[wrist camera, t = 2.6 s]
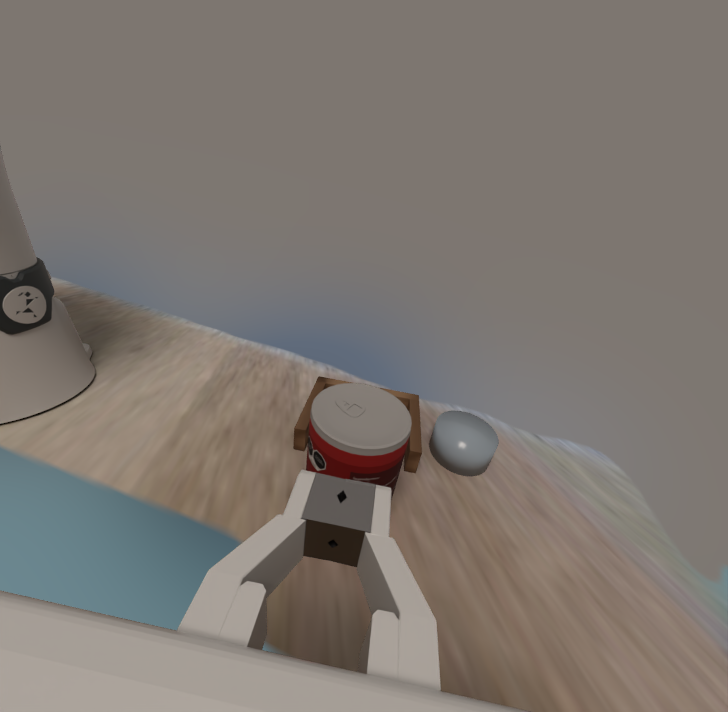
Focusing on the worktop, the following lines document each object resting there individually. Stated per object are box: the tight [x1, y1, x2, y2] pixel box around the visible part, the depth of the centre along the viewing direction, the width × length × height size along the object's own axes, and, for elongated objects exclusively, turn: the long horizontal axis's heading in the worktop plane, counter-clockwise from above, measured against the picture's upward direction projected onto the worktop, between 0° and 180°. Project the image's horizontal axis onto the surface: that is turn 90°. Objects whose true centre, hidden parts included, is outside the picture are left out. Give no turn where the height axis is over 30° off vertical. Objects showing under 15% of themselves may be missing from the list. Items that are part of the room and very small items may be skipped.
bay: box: [294, 377, 422, 473], centre depth 38 cm, size 13×10×3 cm
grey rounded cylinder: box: [429, 411, 498, 476], centre depth 37 cm, size 7×7×4 cm
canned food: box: [306, 383, 412, 499], centre depth 27 cm, size 8×8×11 cm
